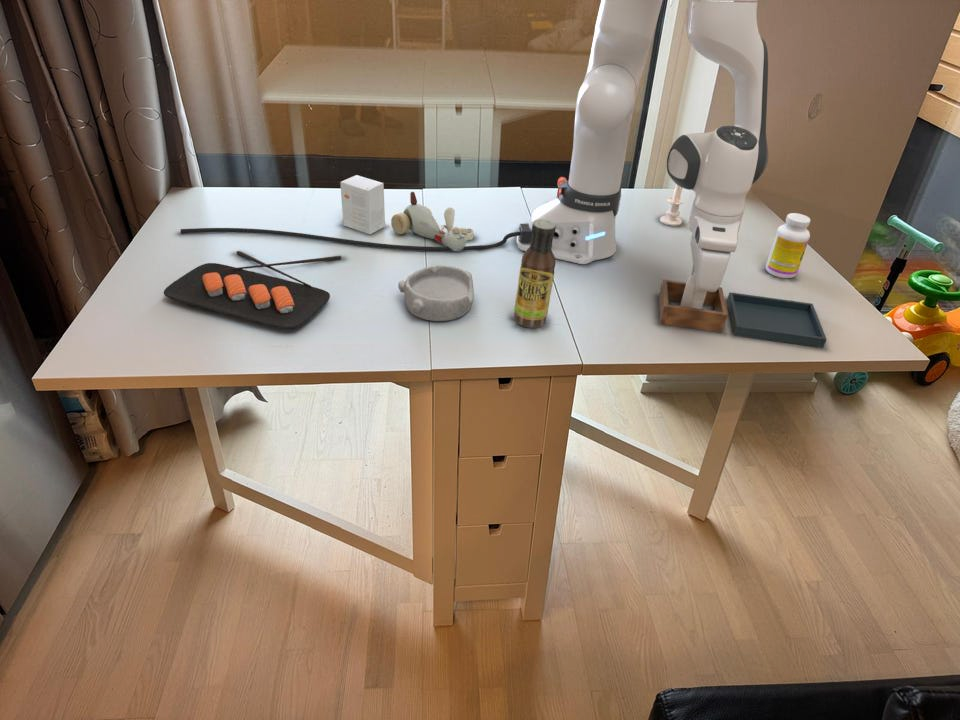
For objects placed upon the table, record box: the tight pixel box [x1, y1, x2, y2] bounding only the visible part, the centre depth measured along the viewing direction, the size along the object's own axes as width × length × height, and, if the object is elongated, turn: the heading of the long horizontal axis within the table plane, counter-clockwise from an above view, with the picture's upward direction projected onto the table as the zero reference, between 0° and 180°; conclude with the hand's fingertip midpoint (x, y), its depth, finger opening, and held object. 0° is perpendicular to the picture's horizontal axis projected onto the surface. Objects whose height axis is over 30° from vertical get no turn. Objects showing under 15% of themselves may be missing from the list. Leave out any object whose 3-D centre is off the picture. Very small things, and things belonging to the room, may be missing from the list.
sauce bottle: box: [513, 219, 556, 329], centre depth 129 cm, size 6×6×20 cm
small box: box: [339, 174, 386, 235], centre depth 161 cm, size 8×6×10 cm
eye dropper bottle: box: [679, 273, 707, 309], centre depth 137 cm, size 4×6×12 cm
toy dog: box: [390, 191, 475, 252], centre depth 158 cm, size 12×19×9 cm, turn 69°
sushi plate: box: [163, 250, 342, 330], centre depth 139 cm, size 29×30×4 cm
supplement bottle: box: [765, 212, 811, 279], centre depth 153 cm, size 7×7×13 cm
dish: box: [397, 264, 475, 322], centre depth 136 cm, size 14×14×5 cm
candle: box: [659, 183, 684, 227], centre depth 173 cm, size 5×5×10 cm
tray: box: [726, 291, 828, 349], centre depth 139 cm, size 16×13×2 cm
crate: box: [658, 279, 729, 334], centre depth 139 cm, size 12×11×4 cm
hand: (696, 288), depth 137 cm, fingers open, 6 cm apart
